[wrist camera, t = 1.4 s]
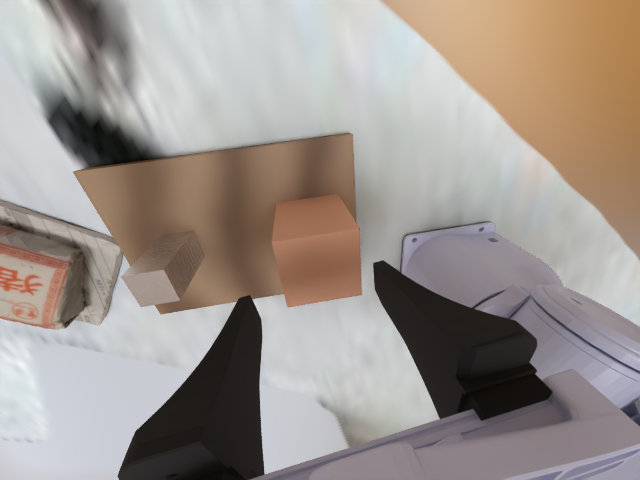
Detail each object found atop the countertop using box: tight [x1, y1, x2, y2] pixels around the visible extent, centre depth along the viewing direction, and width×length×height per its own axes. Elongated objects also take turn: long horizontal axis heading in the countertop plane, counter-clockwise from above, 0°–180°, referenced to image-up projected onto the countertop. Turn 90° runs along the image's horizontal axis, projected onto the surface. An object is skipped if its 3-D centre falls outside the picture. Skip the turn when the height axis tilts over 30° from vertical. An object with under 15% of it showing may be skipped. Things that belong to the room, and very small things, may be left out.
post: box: [121, 230, 205, 307], centre depth 18 cm, size 3×3×6 cm
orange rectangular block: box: [272, 194, 362, 307], centre depth 18 cm, size 5×5×7 cm
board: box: [73, 133, 356, 314], centre depth 21 cm, size 20×14×1 cm
